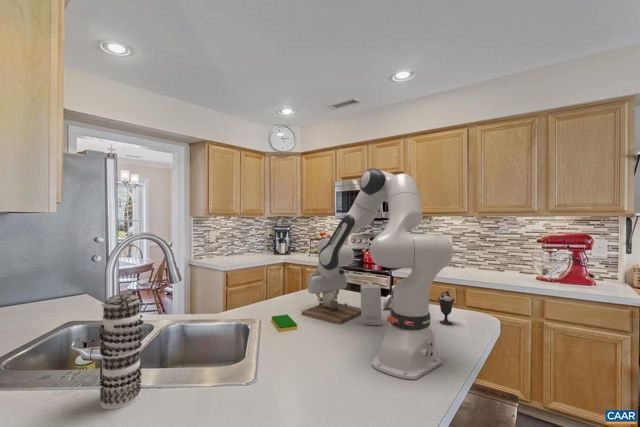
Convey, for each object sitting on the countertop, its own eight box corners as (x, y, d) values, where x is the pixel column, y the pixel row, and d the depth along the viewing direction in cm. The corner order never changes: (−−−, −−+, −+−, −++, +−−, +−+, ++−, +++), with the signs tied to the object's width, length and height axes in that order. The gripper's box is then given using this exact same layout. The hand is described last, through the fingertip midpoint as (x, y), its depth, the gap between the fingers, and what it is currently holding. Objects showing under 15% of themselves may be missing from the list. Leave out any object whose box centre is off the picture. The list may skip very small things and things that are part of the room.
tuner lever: (341, 309, 145) (341, 295, 145) (329, 310, 142) (329, 296, 142) (331, 303, 155) (331, 289, 155) (320, 304, 153) (320, 290, 153)
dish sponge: (279, 333, 122) (279, 326, 122) (271, 321, 135) (271, 316, 135) (297, 330, 125) (297, 324, 125) (287, 319, 138) (287, 314, 138)
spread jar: (408, 315, 142) (408, 289, 142) (382, 314, 145) (382, 288, 145) (406, 308, 154) (406, 284, 154) (383, 306, 156) (383, 282, 156)
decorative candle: (150, 388, 82) (150, 291, 82) (129, 409, 73) (130, 301, 73) (114, 388, 82) (114, 291, 82) (89, 410, 73) (89, 301, 73)
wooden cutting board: (340, 324, 130) (340, 318, 130) (301, 314, 143) (301, 309, 143) (365, 312, 147) (365, 306, 147) (328, 304, 160) (328, 299, 160)
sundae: (452, 327, 128) (452, 289, 128) (435, 323, 132) (435, 287, 132) (456, 322, 133) (456, 286, 133) (440, 319, 137) (440, 284, 137)
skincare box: (380, 320, 135) (380, 284, 135) (381, 326, 129) (381, 287, 129) (360, 320, 136) (360, 283, 136) (360, 325, 130) (361, 287, 130)
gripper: (311, 274, 143) (312, 305, 143) (348, 270, 153) (348, 298, 153) (305, 272, 148) (305, 302, 148) (340, 268, 159) (341, 296, 159)
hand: (327, 300), depth 151 cm, fingers open, 7 cm apart
